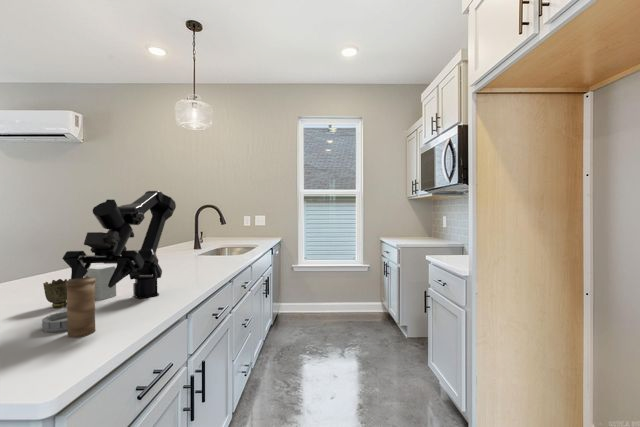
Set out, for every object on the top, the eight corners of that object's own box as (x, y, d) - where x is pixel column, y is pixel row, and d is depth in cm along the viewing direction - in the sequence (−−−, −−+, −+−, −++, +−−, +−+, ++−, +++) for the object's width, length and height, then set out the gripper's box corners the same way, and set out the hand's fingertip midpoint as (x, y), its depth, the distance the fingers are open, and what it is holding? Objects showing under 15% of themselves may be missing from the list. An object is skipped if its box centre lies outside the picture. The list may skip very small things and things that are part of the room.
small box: (116, 296, 108) (116, 265, 108) (100, 300, 103) (100, 268, 103) (100, 293, 111) (99, 264, 111) (83, 298, 106) (83, 267, 105)
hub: (84, 316, 88) (84, 308, 87) (89, 325, 81) (89, 316, 81) (41, 325, 81) (41, 315, 81) (43, 335, 75) (42, 325, 75)
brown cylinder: (94, 326, 80) (93, 276, 80) (98, 333, 76) (97, 280, 76) (65, 332, 76) (64, 279, 76) (67, 340, 72) (66, 284, 72)
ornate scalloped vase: (56, 311, 92) (56, 284, 92) (37, 309, 94) (36, 283, 93) (80, 303, 99) (80, 278, 99) (62, 302, 101) (61, 277, 101)
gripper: (67, 221, 84) (32, 269, 73) (138, 220, 85) (115, 268, 74) (87, 246, 92) (58, 294, 81) (152, 246, 93) (133, 292, 82)
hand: (90, 287), depth 80 cm, fingers open, 9 cm apart
